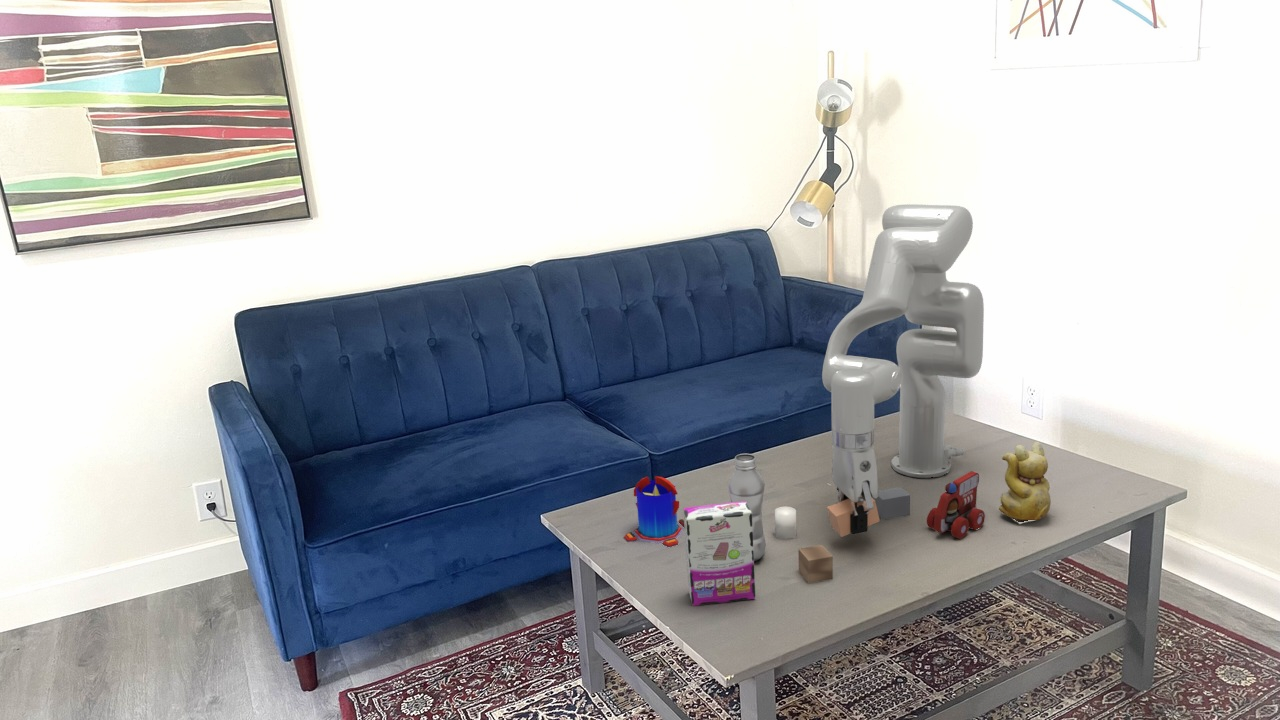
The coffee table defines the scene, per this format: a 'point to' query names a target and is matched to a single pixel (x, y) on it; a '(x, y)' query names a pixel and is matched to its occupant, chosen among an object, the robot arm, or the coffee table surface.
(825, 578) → the walnut square block
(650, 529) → the fantasy tower
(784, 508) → the cream cylinder
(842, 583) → the coffee table surface
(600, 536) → the coffee table surface
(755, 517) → the plastic bottle
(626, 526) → the coffee table surface
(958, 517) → the toy fire truck
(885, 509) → the grey short brick
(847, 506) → the terracotta long brick
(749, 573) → the candy bar box
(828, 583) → the coffee table surface
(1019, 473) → the decorative figurine
